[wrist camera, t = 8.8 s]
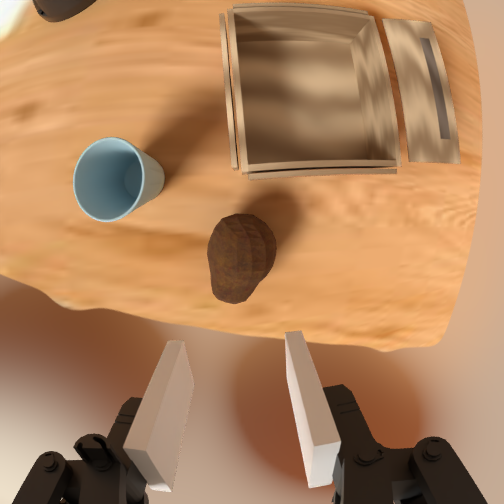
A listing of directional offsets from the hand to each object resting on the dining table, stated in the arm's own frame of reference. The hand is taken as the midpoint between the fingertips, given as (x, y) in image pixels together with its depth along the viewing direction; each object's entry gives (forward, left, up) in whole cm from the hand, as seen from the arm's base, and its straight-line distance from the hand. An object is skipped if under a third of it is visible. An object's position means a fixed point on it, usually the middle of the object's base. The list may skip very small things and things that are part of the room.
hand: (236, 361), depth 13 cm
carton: (-18, +9, -23) cm, 30 cm away
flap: (-18, +18, -14) cm, 29 cm away
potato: (0, 0, -23) cm, 23 cm away
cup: (-10, -11, -23) cm, 27 cm away
